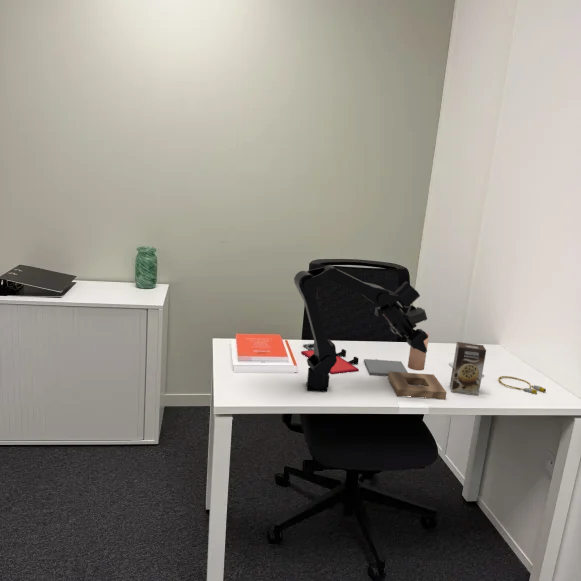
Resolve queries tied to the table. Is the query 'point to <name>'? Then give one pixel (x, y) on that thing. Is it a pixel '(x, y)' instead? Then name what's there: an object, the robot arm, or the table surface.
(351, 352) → the table surface
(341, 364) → the red board with handle
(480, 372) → the coffee box
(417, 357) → the plug
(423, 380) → the pocket board
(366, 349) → the table surface
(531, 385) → the extension cord
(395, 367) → the mat
